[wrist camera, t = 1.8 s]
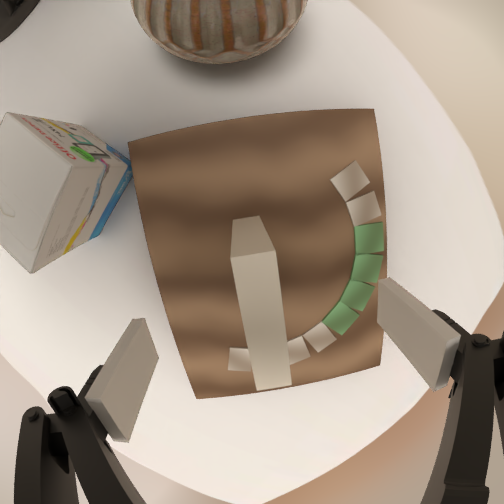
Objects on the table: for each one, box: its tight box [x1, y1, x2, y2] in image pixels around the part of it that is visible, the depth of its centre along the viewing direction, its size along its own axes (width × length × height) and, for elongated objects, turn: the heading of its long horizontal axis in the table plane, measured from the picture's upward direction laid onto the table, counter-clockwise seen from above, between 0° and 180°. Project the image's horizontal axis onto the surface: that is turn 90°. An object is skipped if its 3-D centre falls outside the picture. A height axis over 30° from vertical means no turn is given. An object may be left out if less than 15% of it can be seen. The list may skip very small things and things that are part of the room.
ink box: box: [0, 112, 133, 274], centre depth 19 cm, size 9×8×12 cm
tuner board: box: [128, 109, 387, 399], centre depth 27 cm, size 28×22×2 cm
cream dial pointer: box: [230, 216, 292, 391], centre depth 20 cm, size 16×2×12 cm, turn 9°
